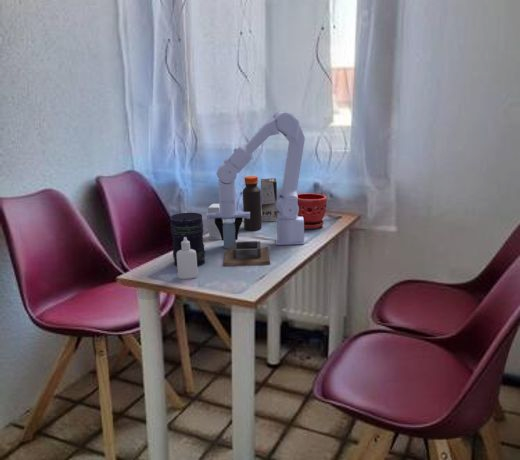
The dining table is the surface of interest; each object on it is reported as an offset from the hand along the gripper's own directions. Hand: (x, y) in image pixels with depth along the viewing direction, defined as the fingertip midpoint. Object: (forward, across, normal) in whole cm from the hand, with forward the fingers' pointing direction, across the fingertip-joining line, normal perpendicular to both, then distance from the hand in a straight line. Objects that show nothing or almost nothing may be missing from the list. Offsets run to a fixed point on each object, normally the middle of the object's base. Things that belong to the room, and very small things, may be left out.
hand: (229, 239), depth 163 cm
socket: (+2, -6, +12) cm, 14 cm away
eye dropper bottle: (+3, +11, +27) cm, 29 cm away
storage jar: (+3, +12, +15) cm, 19 cm away
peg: (+2, 0, 0) cm, 2 cm away
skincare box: (+3, +5, -11) cm, 12 cm away
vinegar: (+3, -8, -21) cm, 23 cm away
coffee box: (+3, -15, -35) cm, 38 cm away
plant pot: (+3, -30, -22) cm, 37 cm away
